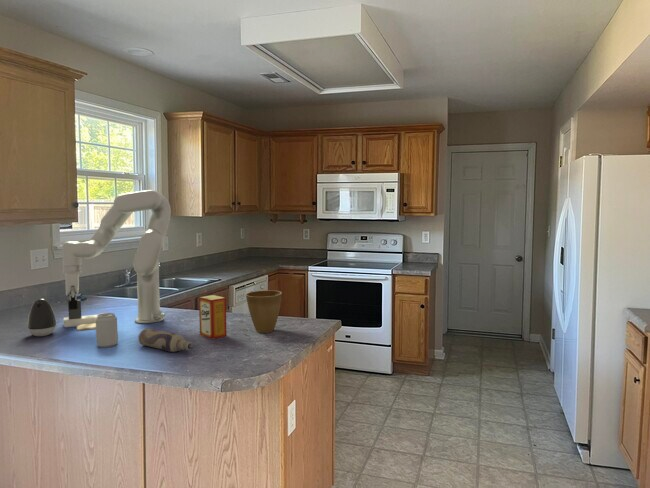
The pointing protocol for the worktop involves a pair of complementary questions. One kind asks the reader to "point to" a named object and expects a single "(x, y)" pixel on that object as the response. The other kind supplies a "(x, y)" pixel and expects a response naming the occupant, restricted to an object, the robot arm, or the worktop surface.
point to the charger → (75, 311)
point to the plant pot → (264, 309)
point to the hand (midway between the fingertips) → (73, 307)
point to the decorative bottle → (164, 340)
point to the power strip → (80, 320)
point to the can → (106, 330)
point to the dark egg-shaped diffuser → (41, 318)
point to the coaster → (86, 326)
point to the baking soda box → (212, 316)
